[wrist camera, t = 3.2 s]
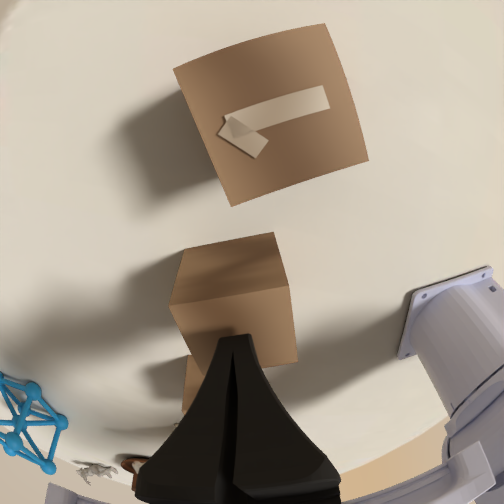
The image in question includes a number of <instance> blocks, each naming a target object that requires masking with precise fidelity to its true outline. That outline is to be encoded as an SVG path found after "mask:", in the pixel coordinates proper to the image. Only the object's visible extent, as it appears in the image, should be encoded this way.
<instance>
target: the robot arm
mask: <svg viewBox="0 0 504 504" xmlns="http://www.w3.org/2000/svg"><path fill="white" fill-rule="evenodd" d="M492 274H493V268H492V267H491V266H488V267H486V268H483V269H480V270H477V271H475V272H472V273H469V274H466V275H463V276H460V277H457V278H454V279H451V280H448V281H445V282H442V283H439V284H436V285H433V286H429V287H426V288H423V289H420V290H417V291H415V292H414V293H413V295H412V298H411V303H410V307H409V312H408V316H407V320H406V324H405V328H404V332H403V336H402V339H401V343H400V346H399V350H398V353H397V358H398V359H399V360H402V359H405V358H407V357H410V356H413V355H416V354H417V355H418V357H419V359H420V361H421V363H422V364H423V366H424V368H425V370H426V372H427V374H428V375H429V377H430V379H431V381H432V383H433V385H434V387H435V389H436V391H437V393H438V395H439V397H440V399H441V401H442V403H443V405H444V407H445V409H446V411H447V413H448V415H449V417H450V419H451V420H450V421H449V422H448V423H447V424H445V426H444V427H445V429H446V431H447V436H446V438H445V440H444V442H443V446H442V464H441V465H439V466H437V467H435V468H433V469H431V470H429V471H427V472H424V473H423V474H420V475H418V476H416V477H414V478H411V479H409V480H407V481H404V482H402V483H399V484H397V485H394V486H392V487H389V488H386V489H384V490H381V491H378V492H375V493H372V494H369V495H366V496H363V497H359V498H356V499H353V500H349V501H345V502H341V499H340V490H339V483H340V482H341V478H340V475H339V473H338V472H337V470H336V469H335V467H334V466H333V464H332V463H331V462H330V460H329V459H328V458H327V456H326V455H325V454H324V453H323V452H322V451H321V450H320V449H319V448H318V447H317V446H316V445H315V444H314V443H313V442H312V441H311V440H310V439H309V438H308V437H307V435H306V434H305V433H304V432H303V431H302V430H301V429H300V427H299V426H298V425H297V424H296V422H295V421H294V420H293V419H292V418H291V416H290V415H289V414H288V412H287V411H286V409H285V408H284V407H283V405H282V404H281V402H280V401H279V399H278V398H277V396H276V394H275V393H274V391H273V390H272V388H271V386H270V384H269V382H268V381H267V379H266V377H265V375H264V373H263V371H262V368H261V366H260V364H259V361H258V357H257V353H256V350H255V346H254V342H253V339H252V335H251V334H249V333H247V334H240V335H234V336H227V337H221V338H219V339H218V342H217V346H216V349H215V352H214V355H213V358H212V360H211V363H210V366H209V368H208V371H207V373H206V375H205V378H204V380H203V382H202V384H201V386H200V388H199V390H198V393H197V395H196V397H195V398H194V400H193V402H192V404H191V406H190V407H189V409H188V411H187V412H186V414H185V415H184V417H183V418H182V420H181V421H180V423H179V424H178V426H177V427H176V429H175V430H174V431H173V433H172V434H171V435H170V436H169V438H168V439H167V440H166V441H165V442H164V443H163V445H162V446H161V447H160V448H159V449H158V450H157V451H156V453H155V454H154V455H152V456H151V457H150V458H149V459H148V460H147V461H146V462H145V463H144V464H143V465H142V466H141V467H140V468H139V472H138V475H137V480H136V488H135V497H136V498H137V499H139V500H141V501H144V502H146V503H149V504H468V503H470V502H471V501H473V500H474V501H475V502H476V504H504V289H503V288H502V287H501V286H500V285H499V284H498V283H497V282H496V281H495V280H494V279H493V278H492ZM45 504H109V503H105V502H101V501H98V500H94V499H91V498H87V497H84V496H81V495H78V494H76V493H74V492H73V491H70V490H68V489H66V488H63V487H61V486H58V485H55V484H53V483H49V484H48V489H47V494H46V499H45Z"/></svg>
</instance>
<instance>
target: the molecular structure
mask: <svg viewBox="0 0 504 504" xmlns="http://www.w3.org/2000/svg"><path fill="white" fill-rule="evenodd" d="M5 384H6V385H9V386H11V387H14V388H17V389H19V390H22V391H25V393H26V395H27V399H26V402H21V403H20V401H19V400H18V399H17V398H16V397H15V396H14V395H13V394H12V392H11V391H10V390H9V389H8V388H7V387H6V385H5ZM0 391H1V393H2V395H3V397H4V399H5V401H6V403H7V405H8V407H9V409H10V411H11V413H12V415H13V418H12V420H0V425H8V426H14V427H15V429H14V432H8V433H7V434H4V433H2V432H0V437H1V438H3V439H5V442H4V441H3V440H2V439H0V444H2V445H3V448H4V450H5V452H6V453H7V454H8V455H10V456H15V455H16V454H17V455H19V456H21V457H23V458H25V459H27V460H29V461H31V462H33V463H35V464H38V465H40V467H41V469H42V470H43V471H44V472H45V473H46V474H49V475H53V474H54V473H55V472H56V465H55V464H54V463H53V462H52V461H53V457H54V453H55V449H56V446H57V442H58V439H59V436H60V432H61V430H65V429H67V428H68V424H69V423H68V420H67V418H66V417H65V416H63V415H60V414H58V415H57V414H56V413H55V412H54V411H53V410H52V409H51V408H50V407H49V406H48V405H47V403H46V402H45V401H44V400H43V399H42V398H41V394H42V393H41V389H40V387H39V386H38V385H37V384H36V383H34V382H29V383H27V384H26V386H24V385H21V384H18V383H15V382H12V381H10V380H7V379H4V377H3V374H2V373H1V372H0ZM6 393H7V394H8V395H9V396H10V397H11V398H12V400H13V401H14V402H15V403H16V404H17V405H18V411H19V413H20V415H17V413H16V411H15V410H14V408H13V406H12V404H11V402H10V400H9V398H8V396H7V394H6ZM32 400H33V401H36V400H38V401H39V403H40V404H41V405H42V406H43V407H44V408H45V409H46V410H47V411H48V412H49V414H50V415H51V416H52V417H50V416H47V415H44V414H41V413H39V412H36V411H33V410H31V409H30V405H31V403H32ZM30 414H32V415H34V416H37V417H40V418H42V419H45V420H41V421H26V420H25V418H26V417H27V416H29V415H30ZM44 425H55V426H56V427H57V428H56V431H55V434H54V437H53V441H52V444H51V448H50V451H49V455H48V459H45V458H44V457H43V455H42V454H41V452H40V451H39V449H38V448H37V446H36V445H35V443H34V442H33V440H32V439H31V437H30V435H29V434H28V432H27V431H26V429H27V426H44ZM20 432H23V434H24V436H25V437H26V439H27V440H28V442H29V443H30V445H31V447H32V448H33V450H34V451H35V452H36V454H37V455H38V457H37V456H36V455H35V454H33V453H32V452H31V451H29V450H28V449H27V448H25V447H24V446H23V441H22V439H21V437H20V436H19V435H20ZM20 450H21V451H23V452H24V453H25V454H24V453H22V452H20ZM26 454H27V455H26Z"/></svg>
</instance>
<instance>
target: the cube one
mask: <svg viewBox="0 0 504 504" xmlns="http://www.w3.org/2000/svg"><path fill="white" fill-rule="evenodd" d="M173 71H174V73H175V76H176V78H177V80H178V83H179V85H180V88H181V90H182V92H183V95H184V97H185V99H186V102H187V104H188V106H189V109H190V111H191V114H192V116H193V118H194V121H195V123H196V125H197V128H198V130H199V132H200V135H201V137H202V139H203V142H204V144H205V147H206V149H207V151H208V154H209V156H210V158H211V161H212V163H213V165H214V168H215V170H216V172H217V175H218V177H219V179H220V182H221V184H222V187H223V189H224V191H225V194H226V196H227V198H228V201H229V203H230V205H231V207H233V206H235V205H238V204H241V203H243V202H246V201H249V200H252V199H254V198H257V197H260V196H263V195H266V194H268V193H271V192H274V191H277V190H280V189H283V188H286V187H289V186H291V185H294V184H297V183H300V182H303V181H306V180H309V179H312V178H315V177H318V176H322V175H325V174H328V173H331V172H334V171H337V170H340V169H344V168H347V167H350V166H353V165H357V164H360V163H363V162H367V161H369V159H368V155H367V150H366V146H365V142H364V138H363V134H362V130H361V126H360V123H359V119H358V115H357V112H356V108H355V105H354V102H353V98H352V95H351V92H350V89H349V86H348V83H347V80H346V77H345V74H344V71H343V68H342V65H341V62H340V60H339V57H338V54H337V52H336V49H335V47H334V44H333V42H332V39H331V37H330V34H329V32H328V29H327V27H326V25H325V23H324V24H317V25H311V26H306V27H301V28H296V29H291V30H286V31H282V32H278V33H274V34H270V35H266V36H262V37H259V38H255V39H252V40H248V41H245V42H242V43H239V44H235V45H232V46H229V47H226V48H224V49H221V50H218V51H215V52H213V53H210V54H207V55H205V56H202V57H200V58H197V59H195V60H192V61H190V62H187V63H185V64H183V65H180V66H178V67H176V68H174V69H173Z"/></svg>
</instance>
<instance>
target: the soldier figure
mask: <svg viewBox="0 0 504 504" xmlns="http://www.w3.org/2000/svg"><path fill="white" fill-rule="evenodd" d="M111 471H113V472H115V473H116V474H118V471H117V470H116V469H114V467H110V468H107V469H105V468H103V467H101V466H99V465H96V464H92V465H91V466H90V467H89V468H84V469H82V468H81V469H80V470H76V472H77V473H78V474H79V475H80V476H81V477H83V478H84V480H85V481H86V483H87V484H89V483H90V482H88V481H87V478H86V476H93V475H94V474H96V475H97V476H99V477H102V476H103V475H107V476H108V477H109V478H112V477H111V474H110V472H111ZM89 485H90V484H89Z"/></svg>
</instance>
